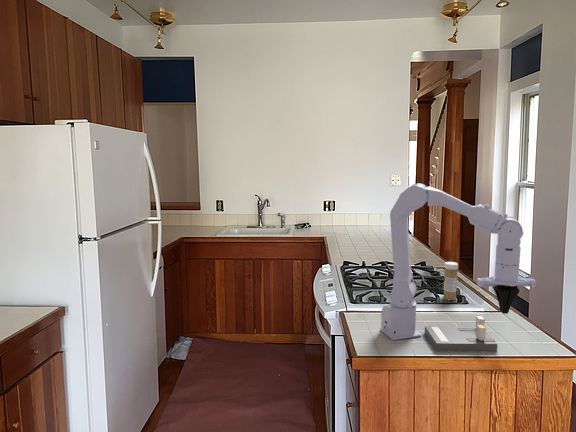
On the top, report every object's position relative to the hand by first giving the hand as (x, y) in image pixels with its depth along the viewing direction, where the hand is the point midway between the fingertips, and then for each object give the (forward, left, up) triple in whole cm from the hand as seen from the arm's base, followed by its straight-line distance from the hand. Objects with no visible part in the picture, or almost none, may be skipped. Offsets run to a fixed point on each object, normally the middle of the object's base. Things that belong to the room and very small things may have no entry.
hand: (504, 312), depth 119 cm
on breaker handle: (-1, +8, -8) cm, 11 cm away
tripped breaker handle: (-5, +2, -8) cm, 9 cm away
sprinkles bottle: (+11, +39, -10) cm, 41 cm away
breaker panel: (-9, +7, -10) cm, 15 cm away
